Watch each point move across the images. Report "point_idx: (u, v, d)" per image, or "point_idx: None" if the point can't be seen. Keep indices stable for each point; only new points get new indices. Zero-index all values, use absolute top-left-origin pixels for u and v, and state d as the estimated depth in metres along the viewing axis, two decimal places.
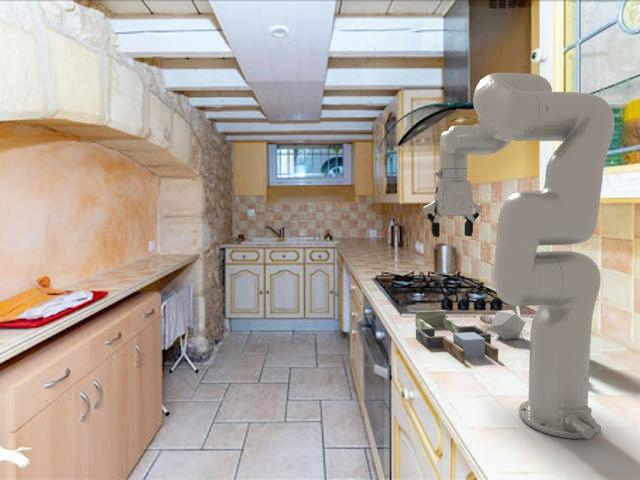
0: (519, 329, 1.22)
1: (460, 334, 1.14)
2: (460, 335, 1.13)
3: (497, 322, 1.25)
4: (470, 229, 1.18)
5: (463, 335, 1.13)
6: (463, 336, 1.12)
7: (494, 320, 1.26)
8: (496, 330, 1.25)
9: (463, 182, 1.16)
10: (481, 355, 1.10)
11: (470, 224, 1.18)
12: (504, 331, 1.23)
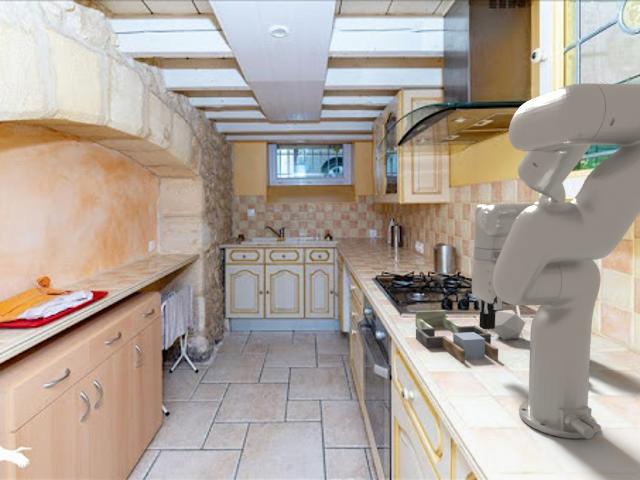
0: (519, 329, 1.22)
1: (460, 334, 1.14)
2: (460, 335, 1.13)
3: (497, 322, 1.25)
4: None
5: (463, 335, 1.13)
6: (463, 336, 1.12)
7: None
8: (496, 330, 1.25)
9: None
10: (481, 355, 1.10)
11: None
12: (504, 331, 1.23)
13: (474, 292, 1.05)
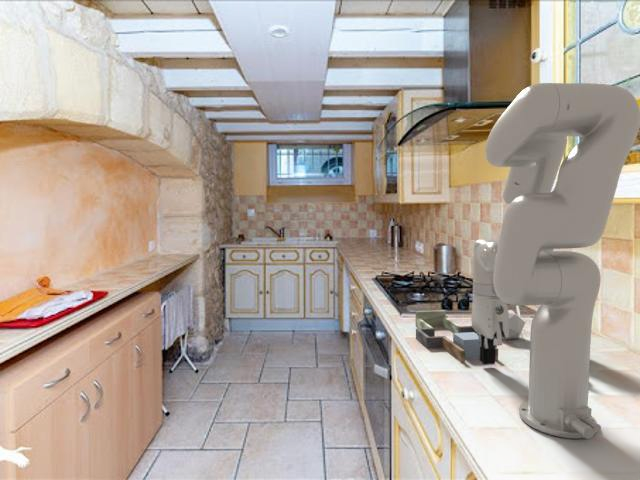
0: (519, 329, 1.22)
1: (460, 334, 1.14)
2: (460, 335, 1.13)
3: None
4: None
5: (463, 335, 1.13)
6: (463, 336, 1.12)
7: None
8: None
9: None
10: None
11: None
12: None
13: (474, 326, 1.05)
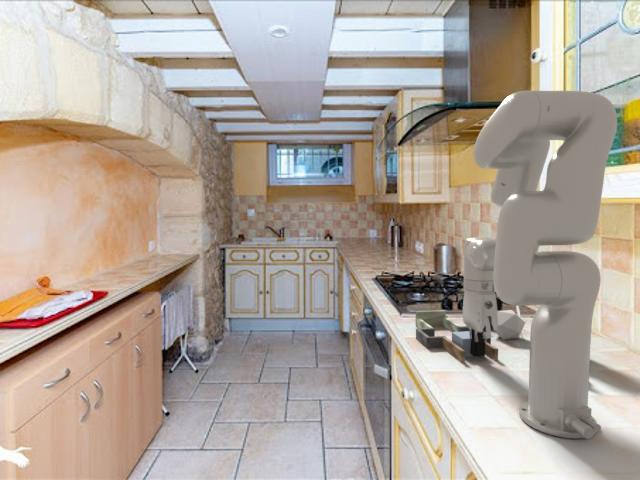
0: (519, 329, 1.22)
1: (459, 333, 1.15)
2: (459, 334, 1.14)
3: None
4: None
5: (461, 334, 1.14)
6: (462, 335, 1.13)
7: None
8: None
9: None
10: None
11: None
12: (504, 331, 1.23)
13: (465, 321, 1.10)
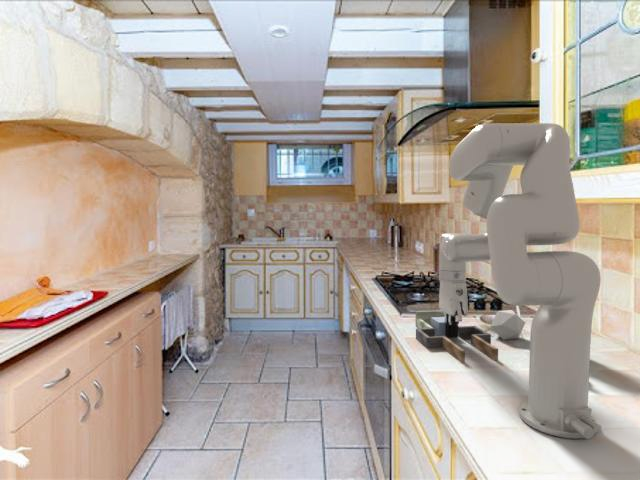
0: (519, 329, 1.22)
1: (436, 318, 1.30)
2: (436, 319, 1.29)
3: (497, 322, 1.25)
4: None
5: (439, 318, 1.29)
6: (439, 320, 1.28)
7: (494, 320, 1.26)
8: (496, 330, 1.25)
9: None
10: None
11: None
12: (504, 331, 1.23)
13: (441, 307, 1.25)
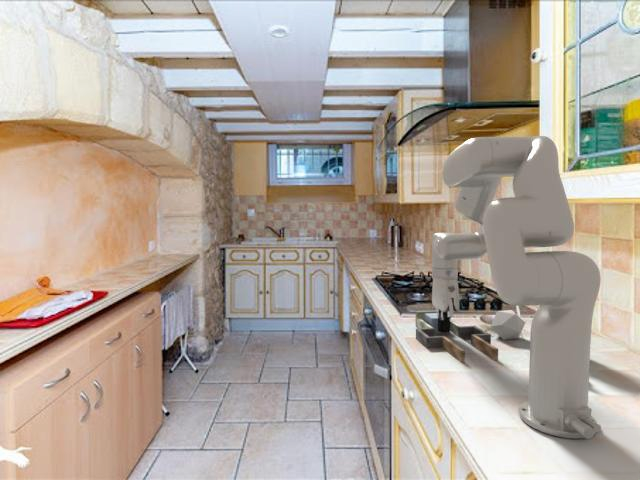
0: (519, 329, 1.22)
1: (430, 314, 1.35)
2: (430, 315, 1.34)
3: (497, 322, 1.25)
4: None
5: (432, 315, 1.35)
6: (432, 316, 1.33)
7: (494, 320, 1.26)
8: (496, 330, 1.25)
9: None
10: None
11: None
12: (504, 331, 1.23)
13: (433, 303, 1.31)
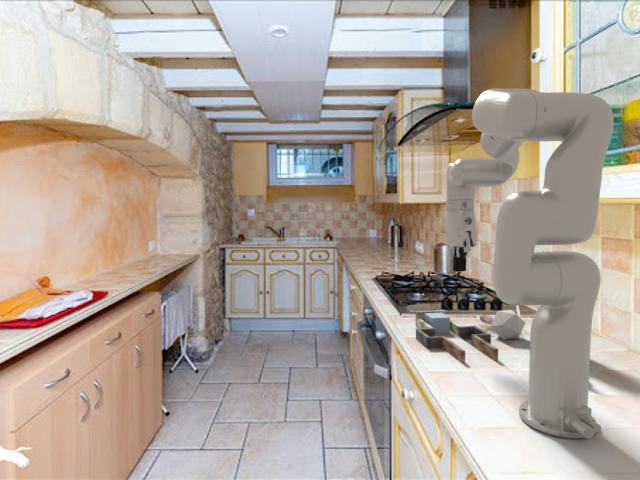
0: (519, 329, 1.22)
1: (430, 314, 1.35)
2: (429, 315, 1.34)
3: (497, 322, 1.25)
4: None
5: (432, 314, 1.35)
6: (432, 315, 1.33)
7: (494, 320, 1.26)
8: (496, 330, 1.25)
9: None
10: (447, 331, 1.32)
11: None
12: (504, 331, 1.23)
13: (448, 241, 1.21)
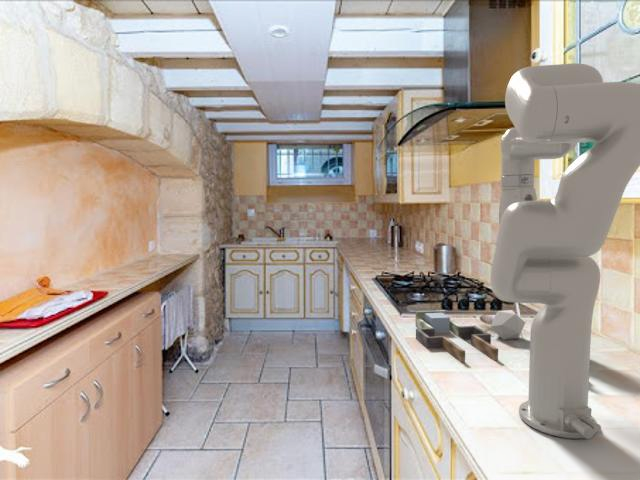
0: (519, 329, 1.22)
1: (430, 314, 1.35)
2: (429, 315, 1.35)
3: (497, 322, 1.25)
4: None
5: (432, 314, 1.35)
6: (432, 315, 1.33)
7: (494, 320, 1.26)
8: (496, 330, 1.25)
9: None
10: (447, 331, 1.32)
11: None
12: (504, 331, 1.23)
13: None
